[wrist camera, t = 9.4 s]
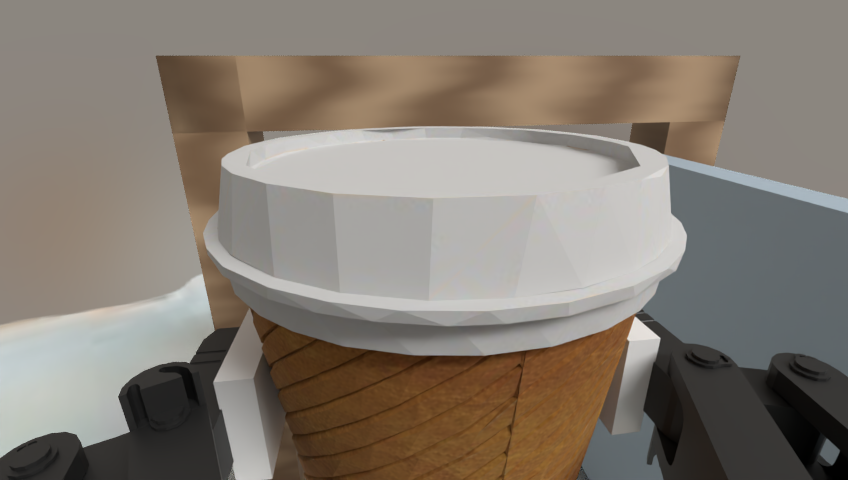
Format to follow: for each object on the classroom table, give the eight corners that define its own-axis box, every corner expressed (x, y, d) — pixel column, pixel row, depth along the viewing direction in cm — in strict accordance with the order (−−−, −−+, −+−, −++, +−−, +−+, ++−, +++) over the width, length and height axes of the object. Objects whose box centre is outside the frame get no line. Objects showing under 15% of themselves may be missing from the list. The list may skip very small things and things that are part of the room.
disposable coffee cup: (415, 944, 7) (389, 296, 3) (232, 515, 14) (144, 143, 10) (661, 552, 13) (777, 147, 8) (446, 387, 19) (449, 119, 15)
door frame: (252, 503, 26) (156, 55, 17) (262, 462, 28) (185, 59, 19) (645, 451, 29) (740, 55, 20) (620, 418, 32) (694, 58, 23)
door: (558, 427, 30) (597, 145, 23) (604, 422, 31) (657, 143, 23) (831, 902, 13) (1335, 346, 6) (928, 872, 13) (1509, 324, 6)
